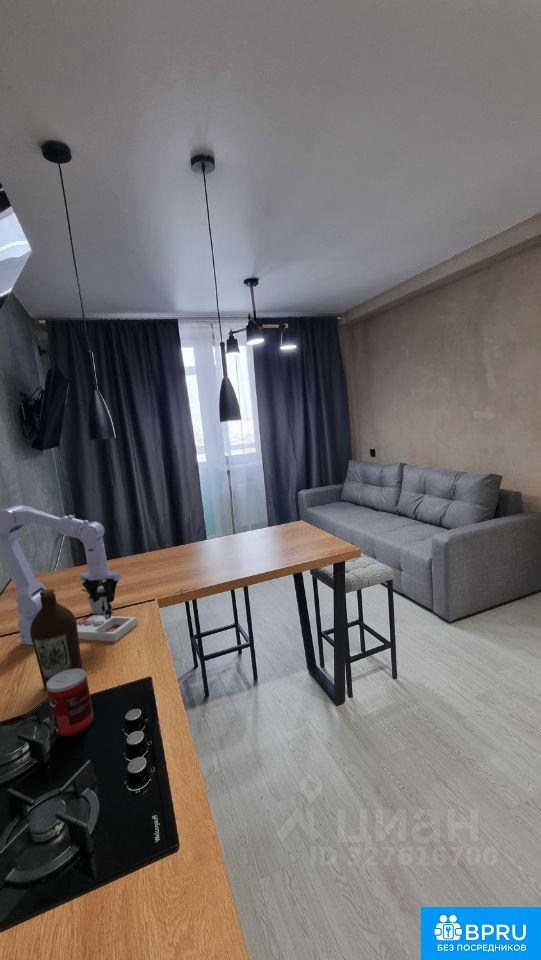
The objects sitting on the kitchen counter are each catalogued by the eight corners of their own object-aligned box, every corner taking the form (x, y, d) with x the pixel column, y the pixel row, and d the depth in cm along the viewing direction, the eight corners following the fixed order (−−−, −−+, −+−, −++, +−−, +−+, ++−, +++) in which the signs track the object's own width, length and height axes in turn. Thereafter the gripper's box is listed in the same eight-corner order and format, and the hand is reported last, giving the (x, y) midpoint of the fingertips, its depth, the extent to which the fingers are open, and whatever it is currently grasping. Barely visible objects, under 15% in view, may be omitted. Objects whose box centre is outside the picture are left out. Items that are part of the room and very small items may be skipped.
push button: (116, 619, 134) (111, 589, 132) (98, 623, 132) (93, 593, 131) (116, 611, 140) (111, 582, 139) (99, 615, 138) (94, 586, 137)
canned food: (63, 715, 96) (54, 671, 95) (99, 710, 97) (90, 665, 95) (48, 740, 88) (38, 692, 87) (87, 733, 89) (78, 685, 88)
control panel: (69, 638, 135) (68, 629, 135) (94, 622, 145) (92, 613, 145) (115, 641, 129) (114, 632, 129) (137, 624, 139) (136, 615, 139)
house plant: (132, 605, 156) (124, 563, 154) (99, 622, 145) (91, 576, 143) (107, 600, 164) (100, 560, 162) (75, 616, 152) (67, 573, 150)
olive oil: (48, 675, 114) (30, 587, 111) (89, 666, 116) (73, 580, 113) (35, 699, 104) (16, 603, 101) (81, 688, 106) (63, 594, 103)
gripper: (69, 564, 132) (76, 605, 134) (106, 564, 127) (114, 607, 129) (85, 557, 139) (92, 596, 140) (121, 557, 134) (128, 597, 136)
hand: (103, 601), depth 135 cm, fingers closed on push button, 5 cm apart
